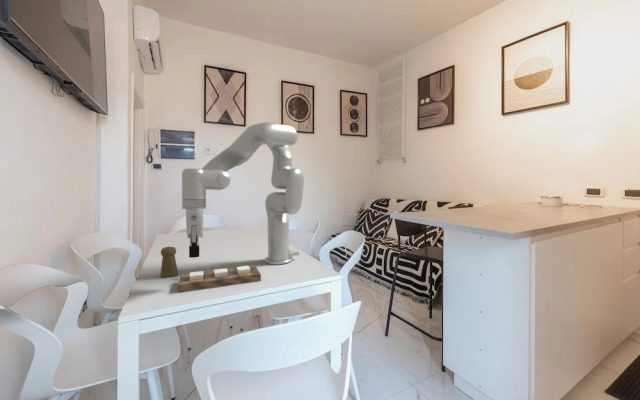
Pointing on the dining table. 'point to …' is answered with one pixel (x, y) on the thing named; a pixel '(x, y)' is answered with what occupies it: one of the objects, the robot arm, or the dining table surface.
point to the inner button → (243, 270)
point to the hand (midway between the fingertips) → (194, 256)
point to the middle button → (220, 272)
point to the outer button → (196, 275)
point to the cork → (168, 262)
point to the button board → (218, 280)
